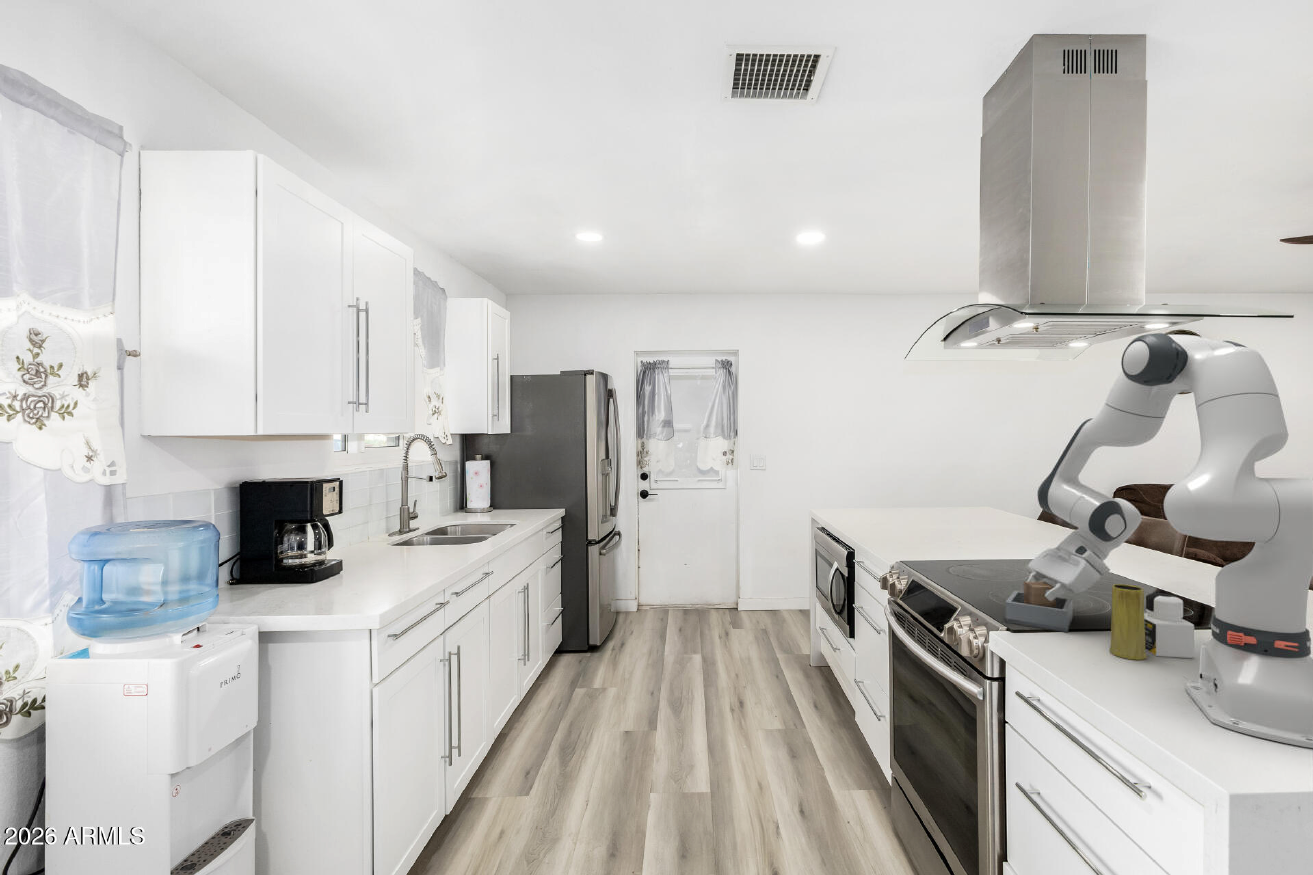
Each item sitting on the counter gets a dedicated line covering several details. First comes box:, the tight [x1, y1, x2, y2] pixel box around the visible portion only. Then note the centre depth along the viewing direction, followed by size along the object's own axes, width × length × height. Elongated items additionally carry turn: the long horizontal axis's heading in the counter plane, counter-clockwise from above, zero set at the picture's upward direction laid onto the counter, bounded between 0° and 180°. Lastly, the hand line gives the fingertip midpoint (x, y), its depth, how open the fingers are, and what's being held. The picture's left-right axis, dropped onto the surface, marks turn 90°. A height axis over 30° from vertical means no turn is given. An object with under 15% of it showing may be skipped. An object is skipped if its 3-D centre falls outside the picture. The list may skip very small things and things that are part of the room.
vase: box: [1109, 583, 1147, 661], centre depth 126 cm, size 6×6×14 cm
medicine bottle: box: [1144, 592, 1195, 659], centre depth 128 cm, size 7×7×12 cm
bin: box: [1005, 590, 1074, 633], centre depth 149 cm, size 13×13×5 cm
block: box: [1023, 581, 1056, 608], centre depth 149 cm, size 5×5×8 cm
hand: (1036, 592), depth 149 cm, fingers open, 8 cm apart
